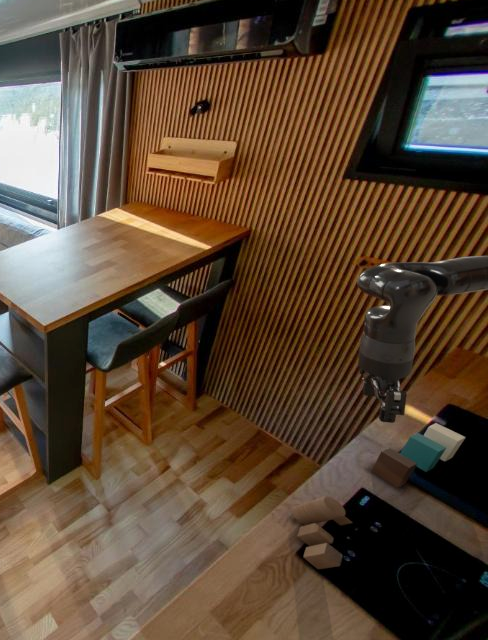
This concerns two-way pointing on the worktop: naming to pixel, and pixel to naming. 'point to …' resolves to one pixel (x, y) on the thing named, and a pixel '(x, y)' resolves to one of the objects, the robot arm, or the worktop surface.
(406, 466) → the brown rectangular block
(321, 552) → the wooden block set
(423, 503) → the worktop surface
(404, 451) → the tile
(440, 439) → the tile
